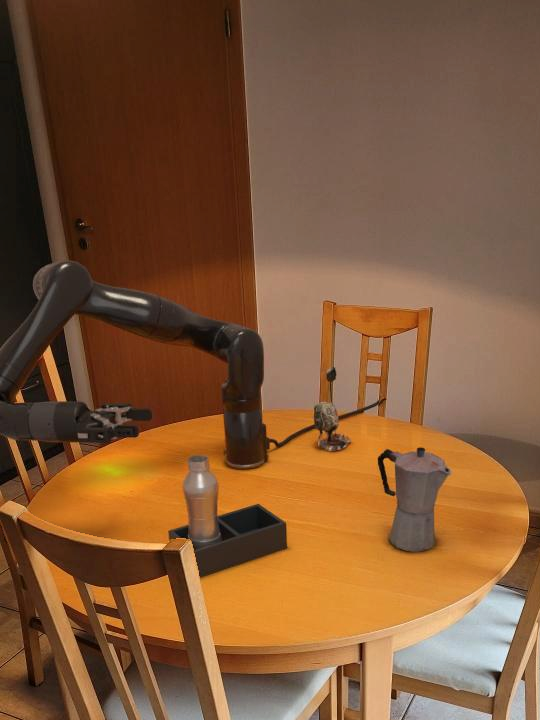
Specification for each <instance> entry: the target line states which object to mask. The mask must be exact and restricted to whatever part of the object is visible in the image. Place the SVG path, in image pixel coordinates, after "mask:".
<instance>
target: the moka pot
mask: <svg viewBox="0 0 540 720" xmlns="http://www.w3.org/2000/svg"><path fill="white" fill-rule="evenodd" d="M385 459H389V461H390V462H392V463H394V479H395V481H394V482H395V490H391V489H390V486H389V483H388V475H387V471H386V466H385V463H384V460H385ZM445 463H446V461H445V459H444V458H442V457H440V456H438V455H436V454H434V453H432V452H426V448H425V447H421V446H420V447H417V448H416V451H409V452H405V453H402V452H400V451H393V450H391V449H389V448H386V449H385V450H383V452H381V453H380V455H378V456H377V466H378V470H379V472H380V477H381V480H382V485H383V491H384V493H385V494H386V495H389V496H391V497H396V504H397V505H396V508H395V512H394V517H393V521H392V525H391V529H390V533H389V539H388V540H389V542H390V543H391V544H392V546H394V547H395V548H397V549H399V550H402V551H405V552H411V553H412V552H413V553H416V552H417V553H418V552H420V553H421V552H425V551H428V550H429V549H431V548H432V547H433V546H434V544H435V539H436V536H435V535H436V534H435V505H436V502H437V498H438V494H439V492H440V491H439V490H440V489H441V488H442V486H443V484H444V483H445V482H446V480H447V479H448V477H449V476H451V475H452V474H453V472H452V469H450V467H448V466H447V465H445Z"/></svg>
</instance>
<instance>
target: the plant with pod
mask: <svg viewBox="0 0 540 720" xmlns="http://www.w3.org/2000/svg"><path fill="white" fill-rule="evenodd" d="M325 378H326V380H327V382H329V395H330V401H320V402H319V403H316V404H315V405H314V407H313V423H314V424H315V428H314V429H315V430H316V431H317V430H318V431H319V435H318V437H317V438H318V444H317V446H318V447H319V448H320V449H322V450H324V451H328V452H329V451H330V452H335V451H336V452H337V451H340V450H342V449H343V448H346V447H347V446H348V444H350V442H352V439H350V437H349V436H348V435H347V436H345V434H344V433H343V432H339V433H337V432H336V431H337V430H338V428H339V426H340V425H339V424H340V423H339V420H340V419H339V418H338V416H339V415H338V411H337V407H336V405H335V403H333V393H332V383H333V382H334V381H335V380H337V370H336V367H335V366H332V365H331V366H330V367H328V369H327V370H326V373H325ZM338 419H339V420H338ZM314 424H313V425H314ZM323 432H324V433H325V434H326V436H327V437H326V438H323V439H322V437H323V434H324V433H323Z"/></svg>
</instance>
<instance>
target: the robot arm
mask: <svg viewBox="0 0 540 720" xmlns="http://www.w3.org/2000/svg"><path fill="white" fill-rule="evenodd" d="M32 288H33V292H34V294H35V296H36V298H37V300H38V301H37V303H36V305H35V306H34V308H33V309H32V310H31V313H30V314H29V315H28V317H26V319H25V320H24V322H23V323H21V324H20V326H19V327H18V328H17V329H16V330H15V332H13V334H12V335H11V336H10V337H9V338H8V339H6V341H5V342H4V343H3V345H2V346H1V347H0V436H3V437H5V438H8V439H9V440H15V441H29V442H30V441H38V442H45V443H81V444H82V443H94V444H109V443H111V442H112V440H117V439H118V438H127V439H128V438H132V439H133V438H134V439H135V438H138V437H139V435H140V432H139V431H140V430H139V426H138V425H137V424H123V423H127V422H131V421H133V422H150V421H151V420H152V419H153V411H152V409H151V408H149V407H147V408H143V407H141V408H136V407H135V408H133V407H132V403H131V402H128V403H126V402H125V403H121V402H120V403H101V404H100V408H96V409H95V410H91V409H90V408H89V406H88V405H87V403H86V402H84V401H40V402H15V399H16V397H17V396H18V394H19V393H20V391H21V389H22V388H23V387H24V385H25V383H26V382H27V380H28V379H29V377H30V375H32V374H31V373H32V372H33V370H34V369H35V367H36V366H37V364H38V363H39V362H40V359H41V358H42V357H43V355H44V354H45V352H46V351H47V349H48V348H49V347H50V345H51V344H52V342H53V341H54V340H55V338H56V337H57V336H58V335H59V333H60V332H61V331H62V330H63V328H65V326H66V325H67V324H68V322H69V321H70V320H71V319H72V318H73V317H74V316H75V315H76V316H81V317H86V318H90V319H94V320H96V321H99V322H103V323H105V324H108V325H110V326H112V327H115V328H117V329H120V330H123V331H126V332H128V333H130V334H133V335H136V336H139V337H142V338H145V339H147V340H150V341H154V342H158V343H161V344H164V345H172V346H178V347H179V346H180V347H190V348H194V349H195V350H198V351H201V352H203V353H205V354H208V355H210V356H213V357H214V358H216V359H218V360H219V361H221V362H223V363H226V364H227V380H225V381H223V383H222V384H221V402H222V403H221V404H222V415H223V416H222V417H223V429H224V430H223V431H224V444H225V449H224V450H223V455H224V456H225V463H226V465H227V467H230V468H231V469H237V470H250V469H255V468H259V467H260V466H262V465H264V463H266V462H268V461H269V459H268V457H269V456H268V451H269V450H271V443H272V444H274V445H275V447H278V448H281V447H283V446H285V445H286V444H288V443H289V442H290V441H291V440H292V439H294V438H296V437H297V436H299V435H301V434H304V433H306V432H308V431H310V430H312V429H316V428H315V424H311V425H309V426H307V427H304V428H302V429H300V430H298V431H295V432H294V433H292V434H291V435H289V436H287V437H286V438H285V439H284V440H283V441H281V442H278V441H277V439H275V438H270V437H268V436H267V425H266V423H264V421H263V405H262V386H263V385H264V380H265V350H264V349H265V347H264V343H263V339H262V337H261V336H260V333H258V331H255V330H254V329H252V328H249V327H247V326H245V325H241V324H239V323H234V322H228V321H223V320H219V319H214V318H211V317H207V316H203V315H200V314H198V313H197V312H195V311H193V310H191V309H190V308H188V307H186V306H184V305H182V304H181V303H179V302H176V301H173V300H171V299H169V298H166V297H164V296H160V295H157V294H154V293H151V292H148V291H142V290H139V289H133V288H127V287H118V286H112V285H107V284H104V283H100V282H97V281H95V280H93V279H92V277H91V273H90V272H89V270H88V269H87V268H86V267H85V265H83V264H82V263H80V262H77V261H74V260H59V261H55V262H52V263H49V264H47V265H44V266H43V267H41V268H40V269H39V270H38V271H37V272H36V274H35V275H34V277H33V280H32ZM379 399H380V397H379V398H378V400H377V401H376V402H374V403H372V404H369V405H367V406H363V407H362V408H358V409H355V410H353V411H350V412H347V413H343V414H341V415H338V418H339V419H338V420H342V419H344V418H347V417H351V416H353V415H354V416H355V415H357V414H361V413H363V412H365V411H368V410H370V409H372V408H375V407H377V406H379V405H380V404H381V402H382V401H383V399H382V400H381V401H380V403H379ZM386 400H387V397H386V398H385V400H384V401H386Z"/></svg>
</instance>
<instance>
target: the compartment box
mask: <svg viewBox="0 0 540 720" xmlns="http://www.w3.org/2000/svg"><path fill="white" fill-rule="evenodd" d="M217 518H218V524H219V530H220V533H221V537H222V541H221V542H218V543H214V544H211V545H208V546H205V547H202V548H199V549H196V550H194V553H195V557H196V562H197V566H198V570H199V576H200V578H202V577H205V576H206V577H207V576H209V575H212V574H214V573H218V572H221V571H223V570H224V571H225V570H227V569H230V568H232V567H235V566H238V565H242V564H244V563H248V562H251V561H253V560H256V559H259V558H262V557H265V556H269V555H272V554H274V553H277V552H279V551H282V550H283V551H284V550H286V549H288V540H287V539H288V538H287V536H288V535H287V533H288V532H287V522H286V521H284V520H283V519H281V518H280V517H279V516H277V515H276V514H274V513H273V512H271V511H270V510H268V509H267V508H266V507H264V506H263V505H261V504H260V503H256V504H252V505H250V506H249V505H248V506H246V507H243V508H239V509H235V510H233V511H230V512H226V513H223V514H220V515H217ZM167 534H168V541H170V540H171V539H176V538H186V539H187V538H188V524H186V525H183V526H180V527H175V528H172V529H170V530H168V533H167Z"/></svg>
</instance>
